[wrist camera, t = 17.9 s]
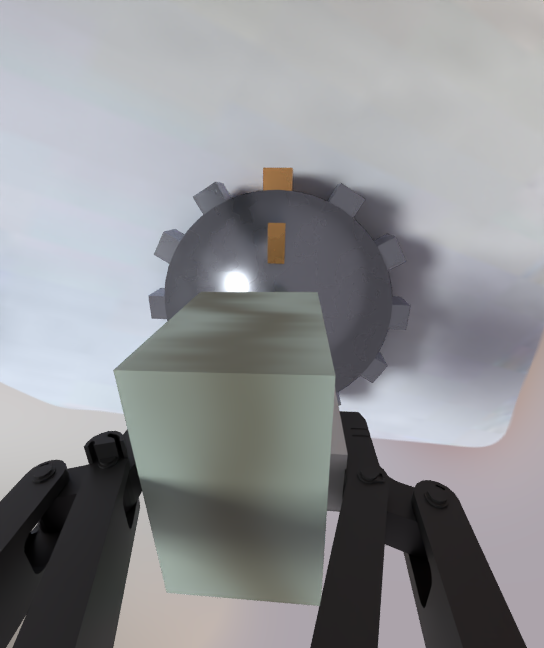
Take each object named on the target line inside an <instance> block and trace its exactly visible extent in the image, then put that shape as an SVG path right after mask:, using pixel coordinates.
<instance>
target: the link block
mask: <svg viewBox="0 0 544 648" xmlns="http://www.w3.org/2000/svg"><path fill="white" fill-rule="evenodd" d="M113 371H114V375H115V379H116V383H117V387H118V391H119V396H120V400H121V404H122V408H123V412H124V416H125V421H126V425H127V429H128V433H129V437H130V442H131V446H132V450H133V454H134V458H135V462H136V467H137V471H138V475H139V479H140V483H141V487H142V492H143V496H144V500H145V504H146V508H147V513H148V517H149V520H150V524H151V529H152V533H153V538H154V542H155V546H156V550H157V554H158V558H159V563H160V567H161V571H162V575H163V579H164V583H165V588H166V592H167V593H177V594H187V595H199V596H211V597H223V598H235V599H246V600H257V601H270V602H281V603H292V604H304V605H317V606H320V601H321V592H322V577H323V562H324V546H325V531H326V515H327V500H328V484H329V469H330V453H331V438H332V422H333V407H334V391H335V371H334V366H333V362H332V357H331V352H330V348H329V343H328V338H327V334H326V329H325V324H324V320H323V315H322V310H321V306H320V301H319V296H318V292H200V293H199V294H198V295H196V296H195V297H194V298H193V299H192V300H191V301H190V302H189V303H188V304H186V305H185V306H184V307H183V308H182V309H181V310H180V311H179V312H178V313H176V314H175V315H174V316H173V317H172V318H171V319H170V320H169V321H168V322H166V323H165V324H164V325H163V326H162V327H161V328H160V329H159V330H158V331H156V332H155V333H154V334H153V335H152V336H151V337H150V338H149V339H148V340H146V341H145V342H144V343H143V344H142V345H141V346H140V347H139V348H138V349H137V350H135V351H134V352H133V353H132V354H131V355H130V356H129V357H128V358H127V359H125V360H124V361H123V362H122V363H121V364H120V365H119V366H118V367H117V368H115V369H114V370H113Z"/></svg>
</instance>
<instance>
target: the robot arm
mask: <svg viewBox="0 0 544 648" xmlns="http://www.w3.org/2000/svg"><path fill="white" fill-rule="evenodd" d="M84 449H85V452H86V455H87V459H88V462H89V464H88V465H85V466H79V467H74V468H69V469H67V466H66V464H65V463H64V462H63V461H61V460H51V461H47V462H44V463H42V464H39V465H38V466H36V467H34V468H32V469H31V470H30V471H29V472H28V473H27V474H26V475H25V476H24V477H23V478H22V479H21V480H20V481H19V482H18V483H17V484H16V485H15V486H14V487H13V489H12V490H11V491H10V492H9V493H8V494H7V495H6V496H5V497H4V498H3V499H2V500H1V501H0V648H6V647H7V645H8V644H9V642H10V640H11V638H12V637H13V635H14V634H15V632H16V630H17V629H18V627H19V626H20V624H21V622H22V621H23V619H24V617H25V616H26V617H25V620H24V622H23V624H22V626H21V629H20V631H19V634H18V636H17V639H16V641H15V643H14V646H13V648H113V646H114V641H115V635H116V630H117V625H118V619H119V614H120V609H121V604H122V599H123V594H124V588H125V583H126V578H127V573H128V567H129V562H130V557H131V552H132V547H133V541H134V536H135V531H136V525H137V520H138V515H139V509H140V502H139V496H140V494H141V492H142V487H141V483H140V479H139V475H138V471H137V467H136V462H135V458H134V454H133V450H132V446H131V442H130V437H129V433H128V429H127V431H126V432H125V433H124V434H123V435H122V434H121V433H120V432H117V431H108V432H104V433H101V434H99V435H97V436H95V437H93V438H92V439H90V440H89V441H88V442H87V443H86V445H85V446H84ZM327 511H339V512H340V515H339V519H338V523H337V528H336V532H335V537H334V542H333V546H332V551H331V555H330V560H329V565H328V569H327V574H326V578H325V583H324V588H323V592H322V597H321V601H320V606H319V611H318V615H317V620H316V624H315V629H314V634H313V638H312V643H311V647H310V648H378V635H379V620H380V605H381V590H382V575H383V560H384V545H385V544H386V545H389V546H391V547H393V548H396V549H398V550H401V551H403V552H404V556H405V560H406V564H407V569H408V573H409V577H410V581H411V586H412V590H413V594H414V598H415V602H416V607H417V611H418V615H419V620H420V624H421V629H422V633H423V637H424V641H425V646H426V648H527V647H526V645H525V643H524V640H523V638H522V636H521V634H520V632H519V630H518V627H517V625H516V623H515V621H514V619H513V617H512V614H511V612H510V610H509V608H508V606H507V603H506V601H505V599H504V597H503V595H502V593H501V591H500V588H499V586H498V584H497V582H496V580H495V577H494V575H493V573H492V571H491V569H490V567H489V564H488V562H487V560H486V558H485V556H484V553H483V551H482V549H481V547H480V545H479V543H478V541H477V538H476V536H475V534H474V532H473V530H472V527H471V525H470V523H469V521H468V519H467V517H466V514H465V512H464V510H463V508H462V506H461V504H460V501H459V500H458V498H457V497H456V495H455V494H454V492H452V491H451V490H450V489H449V488H448V487H446V486H444V485H442V484H440V483H438V482H435V481H431V480H425V481H421V482H419V483H417V484H416V486H415V487H412V486H408V485H405V484H402V483H400V482H397V481H395V480H393V479H392V478H390V477H389V476H388V475H387V474H386V472H385V471H384V469H382V468H381V467H380V466H379V463H378V459H377V456H376V453H375V449H374V446H373V443H372V440H371V438H370V433H369V430H368V426H367V423H366V420H365V419H364V418H363V417H362V415H361V414H360V413H359V412H342V411H339V406H338V401H337V396H336V391H334V407H333V422H332V438H331V453H330V469H329V484H328V500H327ZM37 523H38V524H37ZM36 524H37V526H36V527H35V525H36ZM34 527H35V528H34ZM33 528H34V529H33ZM32 529H33V530H32Z"/></svg>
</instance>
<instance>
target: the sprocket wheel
mask: <svg viewBox="0 0 544 648" xmlns="http://www.w3.org/2000/svg"><path fill="white" fill-rule="evenodd" d="M193 198H194V200H195V202H196V203H197V205H198V207H199V208H200V210H201V212H202V213H203V216H202V217H200V218H199V219H198V220H197V221H196V222H195V223H194V224H193V225H192V226H191V227H190V229H189V230H188V231H187V233H186V234H185V235H184V234H183V233H181V232H179V231H178V230H176V229H174V230H169V231H165V232H163V234H162V237H161V239H160V241H159V244H158V246H157V248H156V251H155V253H154V255H155V256H157V257H159V258H161V259H162V260H164V261H166V262H167V263H169V267H168V272H167V276H166V281H165V288H160V289H158V290H157V291H155V292H154V293H152V294H150V295H149V303H150V310H151V317H152V318H153V319H167V321H169V320H170V319H171V318H172V317H173V316H174V315H175V314H176V313H178V312H179V311H180V310H181V309H182V308H183V307H184V306H185V305H186V304H188V303H189V302H190V301H191V300H192V299H193V298H194V297H195V296H196V295H198V294H199V293H200V292H318V296H319V301H320V306H321V310H322V315H323V320H324V324H325V329H326V334H327V338H328V343H329V348H330V352H331V357H332V362H333V366H334V371H335V391H336V396H337V401H338V406H339V405H341V402H340V397H339V391H340V390H342V389H344V388H345V387H347V386H348V385H349V384H351V383H352V382H353V381H354V380H356V379H357V378H358V377H359V376H362V377H363V378H365V379H367V380H369V381H370V382H372V383H373V382H374V381H375V380H376V379H377V378H378V376H379V375H380V374H381V373H382V372H383V371H384V370H385V368H386V367H387V364H386V362H385V360H384V358H383V356H382V354H381V353H380V352H379V350H380V348H381V346H382V345H383V342H384V340H385V337H386V334H387V332H388V329H404V330H406V327H407V321H408V316H409V311H410V305H409V304H408V303H407V302H406V301H405V300H404V299H403V298H402V297H392V288H391V282H390V277H389V273H388V270H390V269H392V268H394V267H396V266H398V265H400V264H402V263H405V262H406V260H405V258H404V255H403V253H402V250H401V248H400V245H399V243H398V240H397V238H396V237H395V236H392V235H389V234H386V235H384V236H382V237H380V238H378V239H376V240H374V241H373V239H372V238H371V237H370V235H369V234H368V233H367V231H366V230H365V229H364V228H363V227H362V226H361V225H360V224H359V223H358V222H357V221H356V220H355V219H354V218H353V217H354V216H355V214H356V213H357V211H358V210H359V208H360V207H361V205H362V204H363V202H364V201H365V199H364V198H363V197H361V196H360V195H358V194H357V193H355V192H354V191H352V190H351V189H349V188H348V187H346V186H345V185H343V184H342V183H341V184H338V185H337V186H336V188H335V190H334V191H333V193H332V195H331V196H330V198H329V199H328V201H325V200H323V199H320V198H318V197H315V196H313V195H309V194H305V193H300V192H296V191H293V168H263V191H256V192H252V193H247V194H243V195H240V196H237V197H234V198H231V196H230V195H229V193H228V191H227V189H226V187H225V186H224V184H223V183H218V182H215V183H213V184H212V185H210V186H209V187H207V188H206V189H204V190H203V191H201V192H200V193H198V194H196V195H195V196H193Z"/></svg>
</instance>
